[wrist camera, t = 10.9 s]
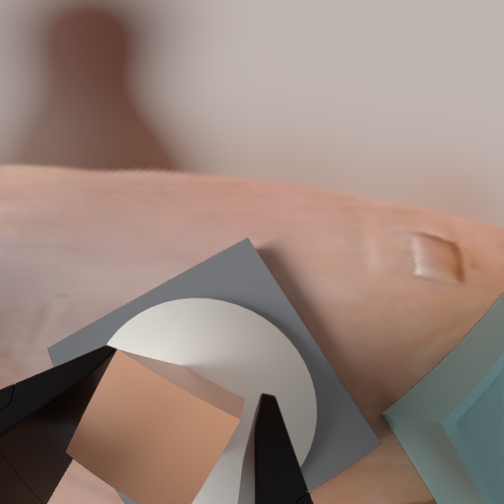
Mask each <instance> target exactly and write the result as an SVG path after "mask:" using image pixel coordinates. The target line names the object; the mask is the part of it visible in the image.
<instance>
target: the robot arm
mask: <svg viewBox="0 0 504 504" xmlns="http://www.w3.org/2000/svg"><path fill="white" fill-rule="evenodd" d="M116 351H117V348H114V347H112V346H109V345H104V346H102V347H100V348H97V349H95V350H93V351H90V352H88V353H86V354H84V355H81V356H79V357H77V358H74V359H72V360H70V361H67V362H65V363H63V364H60V365H58V366H56V367H53V368H51V369H49V370H46V371H44V372H42V373H39V374H37V375H34V376H32V377H30V378H27V379H25V380H23V381H20V382H18V383H16V384H13V385H10V386H8V387H5V388H3V389H0V504H47V503H48V501H49V499H50V498H51V496H52V494H53V492H54V491H55V489H56V487H57V485H58V484H59V482H60V480H61V479H62V477H63V475H64V473H65V472H66V470H67V468H68V467H69V465H70V463H71V462H72V460H73V458H72V457H71V456H70V455H68V454H67V453H66V450H67V448H68V446H69V444H70V441H71V439H72V437H73V435H74V433H75V431H76V429H77V427H78V425H79V423H80V421H81V418H82V416H83V414H84V412H85V410H86V408H87V406H88V404H89V402H90V400H91V398H92V396H93V394H94V393H95V391H96V389H97V387H98V385H99V383H100V381H101V379H102V377H103V375H104V373H105V371H106V369H107V368H108V366H109V364H110V362H111V360H112V358H113V356H114V355H115V353H116ZM238 504H313V501H312V499H311V496H310V493H309V492H308V488H307V485H306V482H305V479H304V477H303V474H302V471H301V468H300V465H299V463H298V460H297V457H296V454H295V451H294V448H293V445H292V442H291V440H290V437H289V434H288V431H287V428H286V425H285V422H284V419H283V416H282V413H281V410H280V408H279V405H278V402H277V399H276V397H275V396H274V395H271V394H266V393H262V394H261V395H260V398H259V401H258V404H257V407H256V411H255V414H254V418H253V422H252V426H251V430H250V434H249V438H248V442H247V446H246V449H245V453H244V458H243V464H242V472H241V480H240V489H239V497H238Z"/></svg>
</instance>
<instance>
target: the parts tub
mask: <svg viewBox="0 0 504 504" xmlns="http://www.w3.org/2000/svg"><path fill="white" fill-rule="evenodd" d="M381 414H382V415H383V417H384V419H385V420H386V422H387V423H388V425H389V426H390V428H391V430H392V431H393V433H394V434H395V436H396V438H397V439H398V441H399V442H400V444H401V446H402V447H403V449H404V451H405V452H406V454H407V455H408V457H409V459H410V460H411V462H412V463H413V465H414V467H415V468H416V470H417V472H418V473H419V475H420V477H421V478H422V480H423V481H424V483H425V485H426V486H427V488H428V490H429V491H430V493H431V495H432V496H433V498H434V500H435V501H436V503H437V504H504V293H502V294H501V295H500V297H499V298H498V299H497V300H496V302H495V303H494V304H493V305H492V307H491V308H490V309H489V310H488V311H487V313H486V314H485V315H484V316H483V317H482V318H481V320H480V321H479V322H478V323H477V324H476V325H475V326H474V327H473V329H472V330H471V331H470V332H469V333H468V334H467V335H466V336H465V337H464V338H463V339H462V340H461V341H460V343H459V344H458V345H457V346H456V347H455V348H454V349H453V350H452V351H451V352H450V353H449V354H448V355H447V356H446V357H445V358H444V359H443V360H442V361H441V362H440V363H439V364H438V365H437V366H436V367H434V368H433V369H432V370H431V371H430V372H429V373H428V374H427V375H426V376H425V377H424V378H423V379H422V380H420V381H419V382H418V383H417V384H416V385H415V386H414V387H413V388H411V389H410V390H409V391H408V392H407V393H406V394H404V395H403V396H402V397H401V398H400V399H398V400H397V401H396V402H395V403H394V404H392V405H391V406H390V407H389V408H387V409H386V410H385V411H384V412H382V413H381Z"/></svg>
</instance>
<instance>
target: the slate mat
mask: <svg viewBox="0 0 504 504" xmlns="http://www.w3.org/2000/svg"><path fill="white" fill-rule="evenodd" d="M188 298H208V299H215V300H222V301H226V302H229V303H233V304H236V305H239V306H241V307H244V308H246V309H248V310H251V311H253V312H254V313H256V314H258V315H260V316H261V317H263V318H265V319H266V320H267V321H269V322H270V323H271V324H273V325H274V326H275V327H277V328H278V329H279V330H280V331H281V332H282V333H283V334H284V335H285V336H286V337H287V338H288V339H289V340H290V342H291V343H292V344H293V345H294V347H295V348H296V349H297V351H298V352H299V354H300V356H301V357H302V359H303V361H304V362H305V364H306V367H307V369H308V371H309V373H310V376H311V379H312V382H313V386H314V390H315V396H316V403H317V422H316V428H315V435H314V438H313V441H312V445H311V448H310V450H309V452H308V454H307V457H306V459H305V461H304V462H303V464H302V465H301V467H300V468H301V471H302V474H303V477H304V479H305V482H306V485H307V488H308V492H309V491H310V490H312V489H314V488H315V487H317V486H319V485H320V484H322V483H324V482H325V481H327V480H329V479H330V478H332V477H333V476H335V475H336V474H338V473H340V472H341V471H343V470H344V469H346V468H347V467H349V466H350V465H352V464H353V463H354V462H356V461H357V460H359V459H360V458H362V457H363V456H364V455H366V454H367V453H369V452H370V451H371V450H373V449H374V448H375V447H377V446H378V445H379V444H381V442H380V441H379V439H378V438H377V436H376V435H375V433H374V431H373V430H372V428H371V427H370V425H369V424H368V422H367V421H366V419H365V417H364V416H363V414H362V413H361V411H360V410H359V408H358V407H357V405H356V403H355V402H354V400H353V399H352V397H351V396H350V394H349V393H348V391H347V390H346V388H345V386H344V385H343V383H342V382H341V380H340V379H339V377H338V376H337V374H336V372H335V371H334V369H333V368H332V366H331V365H330V363H329V362H328V360H327V359H326V357H325V355H324V354H323V352H322V351H321V349H320V348H319V346H318V345H317V343H316V342H315V340H314V339H313V337H312V335H311V334H310V332H309V331H308V329H307V328H306V326H305V325H304V323H303V322H302V320H301V318H300V317H299V315H298V314H297V312H296V311H295V309H294V308H293V306H292V305H291V303H290V302H289V300H288V298H287V297H286V295H285V294H284V292H283V291H282V289H281V288H280V286H279V285H278V283H277V282H276V280H275V279H274V277H273V275H272V274H271V272H270V271H269V269H268V268H267V266H266V265H265V263H264V262H263V260H262V259H261V257H260V256H259V254H258V252H257V251H256V249H255V248H254V246H253V245H252V243H251V242H250V240H249V239H248V238H246V239H244V240H242V241H241V242H239V243H237V244H235V245H233V246H231V247H229V248H228V249H226V250H224V251H222V252H220V253H218V254H217V255H215V256H213V257H211V258H209V259H207V260H205V261H204V262H202V263H200V264H198V265H196V266H194V267H193V268H191V269H189V270H187V271H185V272H183V273H182V274H180V275H178V276H176V277H174V278H173V279H171V280H169V281H167V282H165V283H163V284H162V285H160V286H158V287H156V288H154V289H153V290H151V291H149V292H147V293H145V294H144V295H142V296H140V297H138V298H136V299H135V300H133V301H131V302H129V303H127V304H126V305H124V306H122V307H120V308H118V309H117V310H115V311H113V312H111V313H109V314H108V315H106V316H104V317H102V318H100V319H99V320H97V321H95V322H93V323H92V324H90V325H88V326H86V327H85V328H83V329H81V330H79V331H77V332H76V333H74V334H72V335H70V336H69V337H67V338H65V339H63V340H62V341H60V342H58V343H56V344H55V345H53V346H51V347H49V348H48V352H49V355H50V357H51V360H52V363H53V366H54V367H56V366H58V365H60V364H63V363H65V362H67V361H70V360H72V359H74V358H77V357H79V356H81V355H84V354H86V353H88V352H90V351H93V350H95V349H97V348H100V347H102V346H104V345H107V343H108V342H109V340H110V339H111V338H112V337H113V336H114V334H115V333H116V332H117V331H118V330H119V329H120V328H121V327H122V326H123V325H124V324H125V323H127V322H128V321H129V320H131V319H132V318H133V317H135V316H136V315H138V314H139V313H141V312H143V311H145V310H147V309H149V308H151V307H154V306H156V305H159V304H162V303H165V302H169V301H174V300H178V299H188ZM115 490H116V489H115ZM116 491H117V493H118V494H119V496H120V497H121V499H122V500H123V502H124V503H125V504H139V503H137V502H135V501H134V500H132V499H130V498H129V497H127V496H125V495H124V494H122V493H121V492H119V491H118V490H116Z"/></svg>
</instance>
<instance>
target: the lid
mask: <svg viewBox="0 0 504 504" xmlns="http://www.w3.org/2000/svg"><path fill="white" fill-rule="evenodd" d="M107 345H109V346H112V347H114V348H117V351H116V353H115V355H114V356H113V358H112V360H111V362H110V364H109V366H108V368H107V369H106V371H105V373H104V375H103V377H102V379H101V381H100V383H99V385H98V387H97V389H96V391H95V393H94V394H93V396H92V398H91V400H90V402H89V404H88V406H87V408H86V410H85V412H84V414H83V416H82V418H81V421H80V423H79V425H78V427H77V429H76V431H75V433H74V435H73V437H72V439H71V441H70V444H69V446H68V448H67V450H66V453H67V454H68V455H70V456H71V457H72V458H73V459H75V460H76V461H77V462H78V463H80V464H81V465H82V466H84V467H85V468H86V469H88V470H89V471H90V472H92V473H93V474H94V475H96V476H97V477H99V478H100V479H101V480H103V481H104V482H106V483H107V484H109V485H110V486H112V487H113V488H115V489H116V490H118V491H119V492H121V493H122V494H124V495H125V496H127V497H129V498H130V499H132V500H134V501H135V502H137V503H139V504H238V497H239V489H240V480H241V472H242V464H243V458H244V453H245V449H246V446H247V442H248V438H249V434H250V430H251V426H252V422H253V418H254V414H255V411H256V407H257V404H258V401H259V398H260V395H261V394H262V393H266V394H271V395H274V396H275V397H276V399H277V402H278V405H279V408H280V410H281V413H282V416H283V419H284V422H285V425H286V428H287V431H288V434H289V437H290V440H291V442H292V445H293V448H294V451H295V454H296V457H297V460H298V463H299V465H300V467H301V465H302V464H303V462H304V461H305V459H306V457H307V454H308V452H309V450H310V448H311V445H312V441H313V438H314V435H315V428H316V422H317V403H316V396H315V390H314V386H313V382H312V379H311V376H310V373H309V371H308V369H307V367H306V364H305V362H304V361H303V359H302V357H301V356H300V354H299V352H298V351H297V349H296V348H295V347H294V345H293V344H292V343H291V342H290V340H289V339H288V338H287V337H286V336H285V335H284V334H283V333H282V332H281V331H280V330H279V329H278V328H277V327H275V326H274V325H273V324H271V323H270V322H269V321H267V320H266V319H265V318H263V317H261V316H260V315H258V314H256V313H254V312H253V311H251V310H248V309H246V308H244V307H241V306H239V305H236V304H233V303H229V302H226V301H222V300H215V299H208V298H188V299H178V300H174V301H169V302H165V303H162V304H159V305H156V306H154V307H151V308H149V309H147V310H145V311H143V312H141V313H139V314H138V315H136V316H135V317H133V318H132V319H131V320H129V321H128V322H127V323H125V324H124V325H123V326H122V327H121V328H120V329H119V330H118V331H117V332H116V333H115V334H114V336H113V337H112V338H111V339H110V340H109V342H108V343H107Z"/></svg>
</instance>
